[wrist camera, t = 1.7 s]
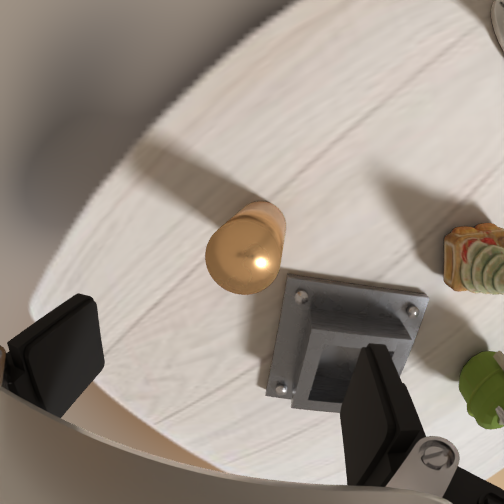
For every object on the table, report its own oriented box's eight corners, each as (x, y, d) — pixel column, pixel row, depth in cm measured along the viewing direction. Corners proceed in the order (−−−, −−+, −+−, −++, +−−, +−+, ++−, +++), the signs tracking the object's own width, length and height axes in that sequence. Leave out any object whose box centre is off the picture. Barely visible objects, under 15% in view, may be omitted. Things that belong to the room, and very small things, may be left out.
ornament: (497, 214, 24) (559, 238, 14) (498, 270, 25) (553, 309, 16) (435, 229, 26) (491, 261, 16) (439, 288, 27) (486, 338, 17)
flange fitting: (287, 273, 29) (286, 296, 24) (425, 293, 27) (445, 316, 22) (266, 389, 33) (261, 420, 28) (383, 401, 31) (392, 430, 26)
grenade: (444, 394, 30) (485, 484, 16) (459, 339, 28) (522, 429, 14) (488, 383, 29) (536, 461, 15) (506, 330, 27) (572, 404, 13)
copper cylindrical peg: (239, 197, 27) (208, 216, 18) (289, 204, 27) (285, 227, 17) (233, 246, 29) (203, 287, 19) (282, 253, 28) (274, 300, 19)
